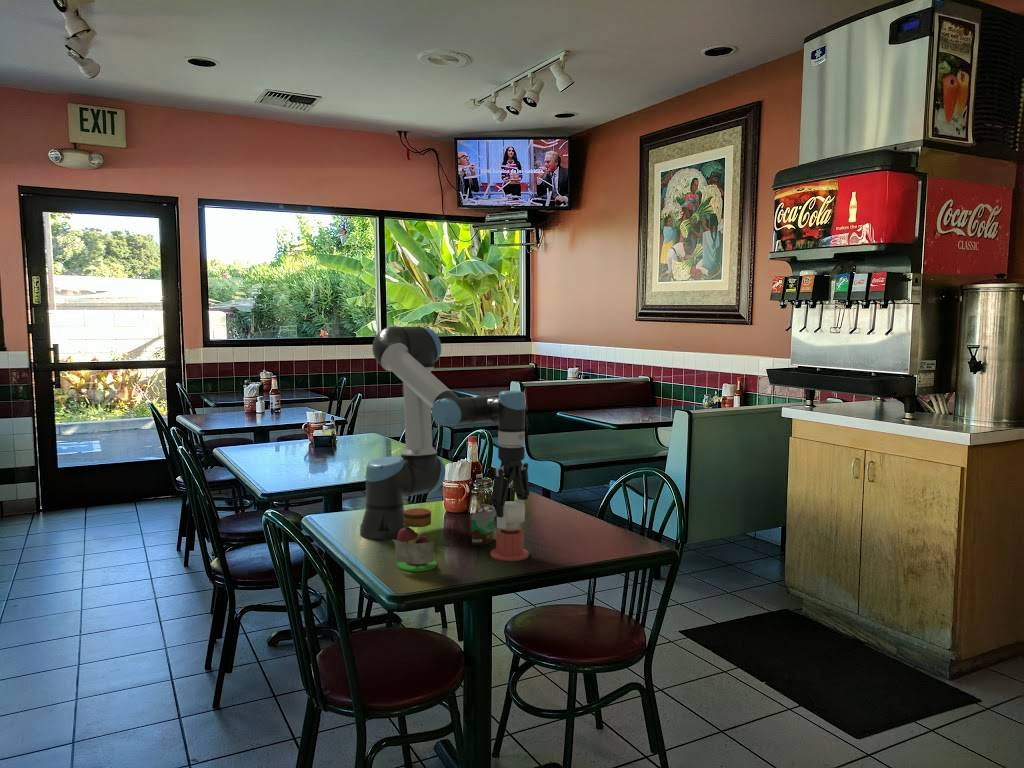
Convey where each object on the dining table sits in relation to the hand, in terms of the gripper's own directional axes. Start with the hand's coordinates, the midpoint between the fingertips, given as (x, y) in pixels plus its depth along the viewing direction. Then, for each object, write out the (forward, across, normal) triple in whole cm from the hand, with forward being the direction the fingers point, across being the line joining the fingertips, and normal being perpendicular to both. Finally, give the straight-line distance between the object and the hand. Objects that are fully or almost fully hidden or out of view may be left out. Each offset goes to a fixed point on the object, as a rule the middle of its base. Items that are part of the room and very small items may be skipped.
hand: (510, 524), depth 213 cm
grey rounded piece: (+1, 0, 0) cm, 1 cm away
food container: (+9, +7, +14) cm, 18 cm away
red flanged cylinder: (+9, 0, 0) cm, 9 cm away
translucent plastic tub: (+9, -23, +15) cm, 29 cm away
